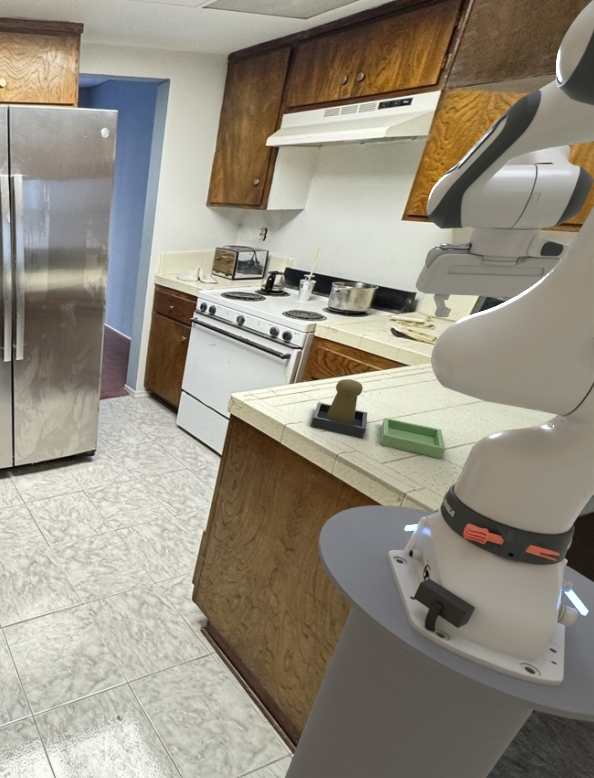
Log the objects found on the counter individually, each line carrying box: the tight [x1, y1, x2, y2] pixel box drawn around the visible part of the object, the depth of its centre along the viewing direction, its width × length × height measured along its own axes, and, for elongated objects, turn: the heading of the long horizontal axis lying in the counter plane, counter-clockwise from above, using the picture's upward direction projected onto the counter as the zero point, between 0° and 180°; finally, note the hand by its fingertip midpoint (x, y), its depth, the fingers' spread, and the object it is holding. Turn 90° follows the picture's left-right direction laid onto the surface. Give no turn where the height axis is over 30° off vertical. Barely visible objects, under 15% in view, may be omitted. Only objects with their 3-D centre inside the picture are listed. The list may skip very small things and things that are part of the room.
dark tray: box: [310, 402, 368, 439], centre depth 116 cm, size 11×11×2 cm
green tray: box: [380, 417, 446, 459], centre depth 108 cm, size 11×11×2 cm
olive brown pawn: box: [325, 378, 364, 425], centre depth 114 cm, size 6×6×11 cm
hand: (469, 318), depth 91 cm, fingers open, 8 cm apart
